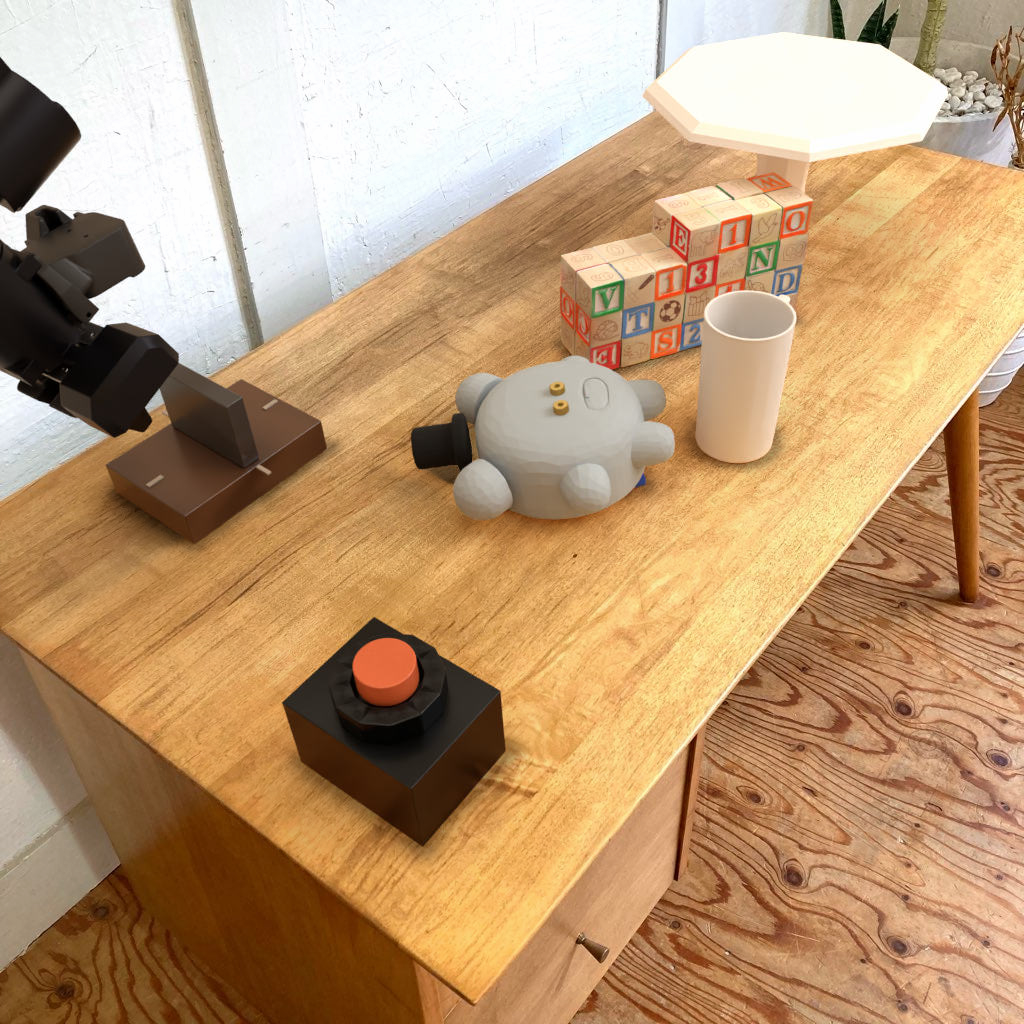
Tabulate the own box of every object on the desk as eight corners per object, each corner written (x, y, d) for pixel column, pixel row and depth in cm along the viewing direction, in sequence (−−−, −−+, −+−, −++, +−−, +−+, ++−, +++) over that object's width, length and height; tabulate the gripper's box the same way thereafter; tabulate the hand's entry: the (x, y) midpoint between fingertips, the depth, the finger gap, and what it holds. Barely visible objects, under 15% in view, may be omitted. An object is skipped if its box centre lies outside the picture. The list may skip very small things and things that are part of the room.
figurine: (659, 395, 90) (430, 426, 92) (653, 311, 84) (409, 345, 86) (688, 537, 77) (422, 570, 79) (684, 450, 72) (397, 487, 73)
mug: (746, 477, 83) (765, 351, 74) (675, 444, 86) (686, 319, 78) (811, 415, 88) (835, 290, 80) (741, 385, 91) (758, 263, 83)
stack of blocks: (588, 379, 93) (589, 255, 85) (559, 343, 97) (557, 221, 89) (795, 320, 98) (815, 197, 90) (759, 288, 103) (775, 168, 94)
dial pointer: (259, 457, 82) (242, 394, 78) (244, 468, 81) (225, 404, 77) (187, 416, 87) (166, 353, 82) (171, 426, 86) (150, 363, 81)
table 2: (637, 181, 120) (643, 29, 109) (889, 181, 117) (923, 25, 106) (634, 316, 100) (641, 147, 89) (938, 320, 97) (986, 146, 86)
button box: (300, 762, 65) (275, 683, 60) (386, 677, 70) (369, 597, 64) (422, 847, 61) (407, 770, 55) (506, 751, 65) (499, 671, 60)
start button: (343, 687, 60) (338, 668, 59) (385, 647, 62) (381, 627, 61) (390, 717, 58) (386, 698, 57) (432, 675, 60) (429, 655, 59)
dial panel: (208, 553, 79) (197, 523, 77) (104, 484, 85) (92, 455, 83) (340, 456, 87) (334, 426, 85) (236, 399, 93) (228, 370, 91)
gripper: (141, 189, 56) (302, 364, 68) (-24, 150, 66) (140, 307, 79) (8, 352, 53) (200, 504, 65) (-143, 284, 64) (47, 425, 76)
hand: (145, 425), depth 71 cm, fingers closed
